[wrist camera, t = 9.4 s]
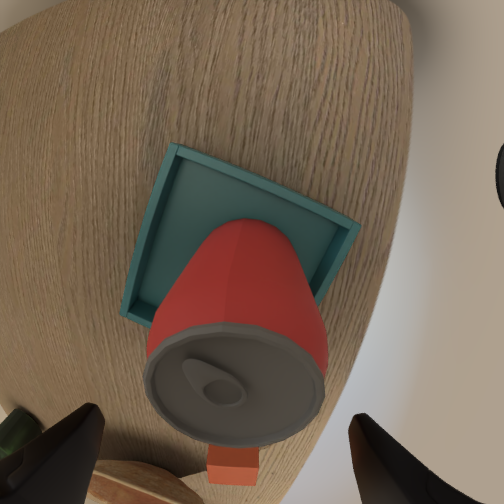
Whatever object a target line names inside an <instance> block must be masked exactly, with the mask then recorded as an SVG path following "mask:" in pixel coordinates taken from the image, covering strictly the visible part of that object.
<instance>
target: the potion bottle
mask: <svg viewBox="0 0 504 504" xmlns="http://www.w3.org/2000/svg"><path fill="white" fill-rule="evenodd" d="M41 434H42V431H41V429H40V427H39V426H38V425H37V423H36V422H35V421H34V420H33V419H32V418H31V417H30V416H28V415H27V414H26V413H24V412H23V411H21V410H19V409H14V410H13V411H12V412H11V413H10V414H9V416H8V417H7V418H6V419H5V420H4V421H3V422H2V423H1V424H0V460H1V459H3V458H5V457H6V456H8V455H10V454H12V453H13V452H15V451H17V450H18V449H20V448H21V447H23V446H24V445H26V444H27V443H29V442H30V441H32V440H33V439H35V438H36V437H38V436H39V435H41Z"/></svg>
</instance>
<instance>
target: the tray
mask: <svg viewBox="0 0 504 504" xmlns="http://www.w3.org/2000/svg"><path fill="white" fill-rule="evenodd" d="M243 218H247V219H256V220H262V221H264V222H266V223H269V224H271V225H273V226H275V227H277V228H278V229H279V230H280V231H281V232H282V233H283V234H284V235H285V236H287V237H288V239H289V241H290V242H291V244H292V246H293V248H294V250H295V252H296V254H297V256H298V259H299V261H300V264H301V266H302V269H303V271H304V274H305V276H306V279H307V282H308V284H309V287H310V289H311V292H312V294H313V297H314V300H315V302H316V305H317V307H318V306H319V304H320V302H321V301H322V299H323V297H324V295H325V294H326V292H327V290H328V288H329V287H330V285H331V283H332V281H333V280H334V278H335V276H336V274H337V272H338V270H339V269H340V267H341V265H342V263H343V261H344V259H345V257H346V255H347V254H348V252H349V250H350V248H351V246H352V244H353V242H354V240H355V238H356V236H357V234H358V232H359V230H360V228H361V224H359V223H357V222H356V221H354V220H353V219H351V218H350V217H348V216H346V215H344V214H342V213H340V212H338V211H336V210H334V209H332V208H330V207H328V206H326V205H324V204H322V203H320V202H318V201H316V200H313V199H311V198H309V197H307V196H305V195H303V194H301V193H299V192H296V191H294V190H292V189H290V188H288V187H285V186H283V185H281V184H279V183H276V182H274V181H272V180H270V179H267V178H265V177H263V176H260V175H258V174H256V173H253V172H251V171H249V170H246V169H244V168H241V167H239V166H237V165H234V164H232V163H229V162H227V161H224V160H222V159H219V158H217V157H214V156H211V155H209V154H206V153H204V152H201V151H198V150H196V149H193V148H190V147H187V146H185V145H182V144H177V143H172V142H171V143H170V144H169V147H168V149H167V152H166V155H165V157H164V160H163V162H162V165H161V168H160V171H159V173H158V176H157V179H156V182H155V185H154V188H153V190H152V193H151V196H150V199H149V202H148V206H147V209H146V212H145V215H144V218H143V222H142V225H141V228H140V232H139V235H138V239H137V242H136V246H135V249H134V253H133V257H132V261H131V265H130V269H129V273H128V277H127V281H126V285H125V290H124V294H123V299H122V304H121V308H120V313H119V314H120V315H121V316H123V317H125V318H126V317H127V318H128V319H130V320H132V321H134V322H136V323H138V324H141V325H143V326H145V327H147V328H150V329H151V326H152V322H153V319H154V316H155V313H156V311H157V309H158V308H159V306H160V305H161V303H162V302H163V300H164V299H165V297H166V295H167V294H168V292H169V291H170V289H171V288H172V286H173V285H174V283H175V282H176V281H177V279H178V278H179V276H180V275H181V273H182V272H183V270H184V269H185V267H186V266H187V264H188V263H189V261H190V260H191V258H192V257H193V256H194V254H195V253H196V251H197V250H198V248H199V247H200V246H201V244H202V243H203V241H204V240H205V239H206V238H207V237H208V236H209V234H210V233H211V232H212V231H213V230H214V229H216V228H217V227H219V226H221V225H223V224H224V223H226V222H228V221H233V220H238V219H243Z"/></svg>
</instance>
